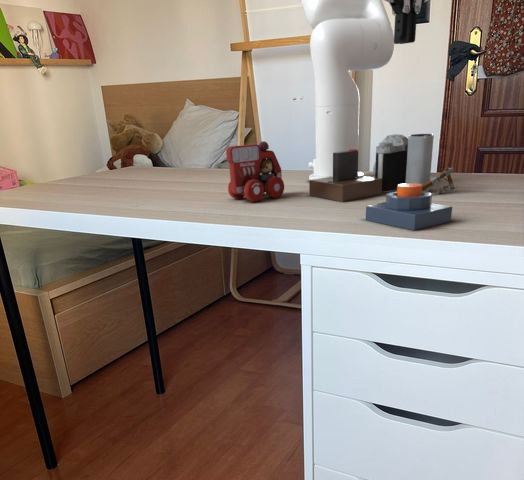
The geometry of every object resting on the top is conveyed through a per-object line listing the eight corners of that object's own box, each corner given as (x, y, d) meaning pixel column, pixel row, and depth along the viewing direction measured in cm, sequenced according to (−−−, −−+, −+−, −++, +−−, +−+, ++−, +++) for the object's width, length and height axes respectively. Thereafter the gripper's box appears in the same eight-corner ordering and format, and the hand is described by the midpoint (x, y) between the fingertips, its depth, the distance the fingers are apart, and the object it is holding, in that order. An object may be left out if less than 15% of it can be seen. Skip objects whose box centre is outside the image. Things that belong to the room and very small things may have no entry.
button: (391, 197, 80) (392, 185, 80) (408, 193, 82) (408, 182, 81) (409, 200, 78) (410, 187, 77) (426, 196, 79) (427, 184, 78)
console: (309, 195, 105) (309, 179, 104) (347, 188, 110) (347, 173, 108) (342, 201, 98) (342, 184, 96) (381, 194, 102) (382, 177, 101)
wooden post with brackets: (460, 186, 100) (454, 164, 97) (425, 208, 100) (418, 186, 97) (455, 185, 101) (449, 163, 99) (419, 206, 101) (412, 185, 99)
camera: (401, 179, 117) (404, 131, 112) (428, 182, 112) (432, 131, 108) (358, 189, 108) (359, 137, 104) (385, 192, 103) (388, 138, 99)
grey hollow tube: (416, 194, 100) (420, 136, 96) (400, 191, 104) (403, 135, 99) (434, 191, 102) (439, 134, 98) (417, 188, 106) (421, 133, 101)
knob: (338, 180, 101) (338, 151, 98) (332, 180, 102) (332, 151, 100) (357, 177, 103) (358, 149, 101) (352, 176, 104) (352, 148, 102)
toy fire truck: (292, 195, 106) (290, 140, 102) (242, 205, 100) (238, 146, 95) (270, 191, 111) (268, 139, 107) (222, 200, 105) (217, 145, 100)
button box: (365, 220, 83) (366, 194, 82) (401, 212, 87) (402, 187, 85) (414, 230, 76) (416, 202, 74) (450, 221, 79) (453, 194, 78)
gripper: (426, -86, 85) (418, 45, 93) (357, -97, 78) (354, 45, 86) (465, -100, 79) (453, 40, 87) (395, -114, 72) (388, 40, 80)
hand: (404, 42), depth 87 cm, fingers closed
